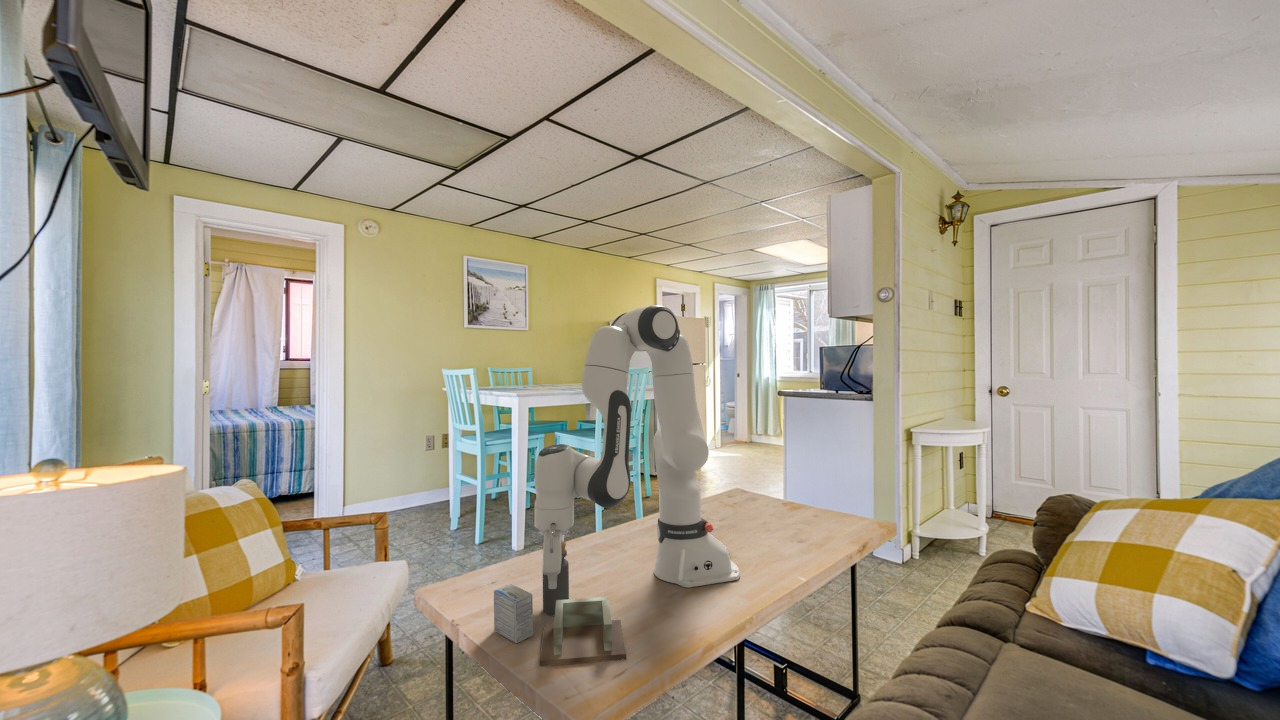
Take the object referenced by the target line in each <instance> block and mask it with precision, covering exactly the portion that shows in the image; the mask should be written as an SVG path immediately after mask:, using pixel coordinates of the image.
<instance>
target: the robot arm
mask: <svg viewBox="0 0 1280 720" xmlns="http://www.w3.org/2000/svg"><path fill="white" fill-rule="evenodd" d="M635 352H646V353H647V354H648V356H649V358H650V362H651V374H652V375H651V376H652V377H651V378H652V389H653V398H654V399H653V400H654V407H655V410H656V414H657V418H658V422H659V423H658V424H659V428H658V429H657V430H656V432H655V434H654V436H653V449H654V460H655V461H654V462H655V470H656V477H657V485H658V506H659V507H658V512H659V513H658V514H659V516H658V518H657V531H656V532H657V540H658V546H657V555H656V562H655V566H654V569H653V574H654V575H655V576H656V577H657V578H658V579H660V580H661V581H664V582H668V583H671V584H676V585H679V586H680V587H683V588H694V587H701V586H706V585H712V584H719V583H726V582H731V581H737V580H739V579H740V576H741V571H740V568H739V567H738V565H737V564H736V563H735V562H734V561H733V560H731V558H730V557H731V556H730V553H729V550H728V548H727V547H726V545H724V543H722V541H720V540H718V539H717V538H716V537H715V536H714V535H712V534H711V533H712V532H713V531H714V526H713V524H712V523H711V522H708V520H706V519H704V517H702V513H701V512H702V510H701V507H702V506H701V488H700V485H699V484H700V483H699V481H698V475H697V471H699V470H700V469H702V468H703V467H704V466H705V465H706V463H707V462H708V458H709V455H710V454H709V446H708V444H707V442H706V438H705V435H704V430H703V424H702V421H701V417H700V413H699V408H698V403H697V396H696V387H695V374H694V365H693V359H692V353H691V350H690V346H689V344H688V340H687V338H686V337H685V336H684V335H682V334H681V330H680V327H679V322H678V320H677V317H676V315H675V314H674V312H673V311H672V309H670V308H668V307H666V306H663V305H658V304H657V305H655V304H654V305H649V306H643V307H637V308H635V309H632V310H631V311H628V312H624V313H622V314H620V315H619V316H617V317H616V318H615V319H614V320H613V322H612V323H611V325H604V326H601V327H599V328H597V329H596V330H595V332H594V333H593V335H592V337H591V340H590V344H589V346H588V349H587V353H586V356H585V360H584V365H583V371H582V375H581V390H582V394H583V395H584V397H585V399H586V400H587V401H588V402H589V403H590V404H591V405H593V407H595V408H596V410H598V411H599V413H600V415H601V417H602V420H603V425H604V426H603V427H604V428H603V436H602V437H603V438H602V449H601V458H598V457H594V456H590V455H587V454H585V453H582V452H579V451H578V450H575V449H574V448H572V447H571V446H570V445H569V444H562V443H561V444H560V443H559V444H553V445H549V446H546V447H544V448H543V449H541V450H540V451H539V452H538V454H537V456H536V457H537V458H536V462H535V470H534V489H535V492H536V493H535V494H536V497H535V501H534V527H535V528H536V529H537V530H539V534H540V535H541V536H544V537H543V544H542V545H543V546H542V547H543V548H542V549H543V550H542V574H543V573H544V575H548V588H549V589H556V588H557V574H559V573H560V570H561V561H562V541H564V542H565V536H566V534H568V533H569V529H570V528H571V527H573V526H574V524H575V522H574V520H575V499H576V498H579V497H581V498H583V499H585V500H588V501H591V502H593V503H594V504H596V505H598V506H600V507H601V508H604V509H612V508H614V507H616V506H618V505H620V503H622V502H623V501H624V500H625V498H626V497H627V496H628V494H629V491H630V488H631V482H632V481H631V471H630V465H629V464H630V461H629V455H630V438H631V425H632V424H631V420H632V408H631V406H632V405H631V401H630V397H629V395H628V379H629V372H630V364H631V363H630V362H631V360H632V357H633V355H634V354H635ZM550 552H551V553H550ZM552 552H553V553H552Z"/></svg>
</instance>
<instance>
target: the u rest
mask: <svg viewBox="0 0 1280 720" xmlns="http://www.w3.org/2000/svg"><path fill="white" fill-rule="evenodd" d="M624 639H625V637H624V633H623V627H622V621H621V619H612V613H611V606H610V597H609V596H599V597H598V596H597V597H585V598H584V597H583V598H569V599H567V600H556V608H555V616H554V620H553V623H552V624H544V626H543V633H542V639H541V640H542V641H541V642H542V643H541V648H540V655H539V667H544V666H545V667H548V666H560V665H573V664H583V663H584V664H585V663H596V662H598V663H599V662H607V661H608V662H609V661H621V660H622V659H623V660H627V651H626V645H625V640H624Z"/></svg>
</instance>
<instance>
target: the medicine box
mask: <svg viewBox="0 0 1280 720" xmlns="http://www.w3.org/2000/svg"><path fill="white" fill-rule="evenodd" d="M533 603H534V602H533V594H532V593H531V592H529V591H527V590H524V589H523V588H521V587H519V586H516V585H515V584H512V583H510V584H509V583H508V584H507V585H504V586H501V587H499V588H497V589H495V590H493V614H494V615H493V620H494V621H493V622H494V623H493V626H494V629H493V630H494V631H495V632H496V633H498V634H499V635H500V636H503V637H505V638H506V639H508V640H509V641H510V642H513V643H514V644H518V643H520V642H523V641H524V640H526V639H528V638H530V637H533V636H534V608H533V605H534V604H533Z"/></svg>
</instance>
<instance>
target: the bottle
mask: <svg viewBox="0 0 1280 720" xmlns="http://www.w3.org/2000/svg"><path fill="white" fill-rule="evenodd" d="M566 544H567V542H566V541H565V540H564V541H562V561H561V570H560V573H559V574H557V588H556V589H549V588H548V575H544V573H543V572H542V610H543V613H544V614H545V615H547V616H552V617H555V608H556V600H567V599H570V586H569V585H570V580H569V579H570V577H569V576H570V572H569V570H570V567H569V566H570V565H569V561H568V560H567V559H566V557H567V556H568V550H567V549H566ZM550 553H551V552H550ZM552 553H553V552H552Z"/></svg>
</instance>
